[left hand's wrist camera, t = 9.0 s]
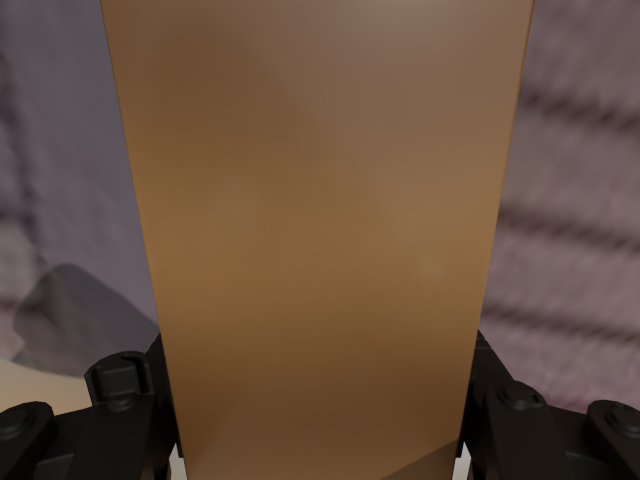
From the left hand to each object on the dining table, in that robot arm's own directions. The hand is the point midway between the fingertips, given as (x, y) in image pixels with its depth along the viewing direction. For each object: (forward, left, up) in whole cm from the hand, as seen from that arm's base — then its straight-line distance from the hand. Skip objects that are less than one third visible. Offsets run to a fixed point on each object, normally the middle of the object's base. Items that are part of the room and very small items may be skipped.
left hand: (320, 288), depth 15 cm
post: (+2, +18, -1) cm, 19 cm away
